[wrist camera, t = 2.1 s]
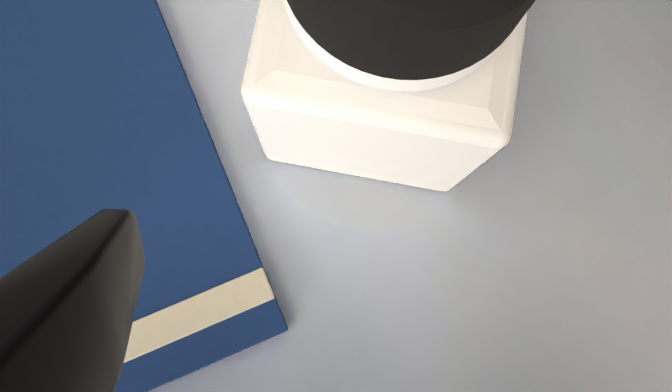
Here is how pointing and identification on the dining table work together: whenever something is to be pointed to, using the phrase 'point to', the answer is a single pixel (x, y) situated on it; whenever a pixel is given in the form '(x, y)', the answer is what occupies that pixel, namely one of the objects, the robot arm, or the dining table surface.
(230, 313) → the cloth
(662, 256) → the dining table surface
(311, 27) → the medicine bottle
